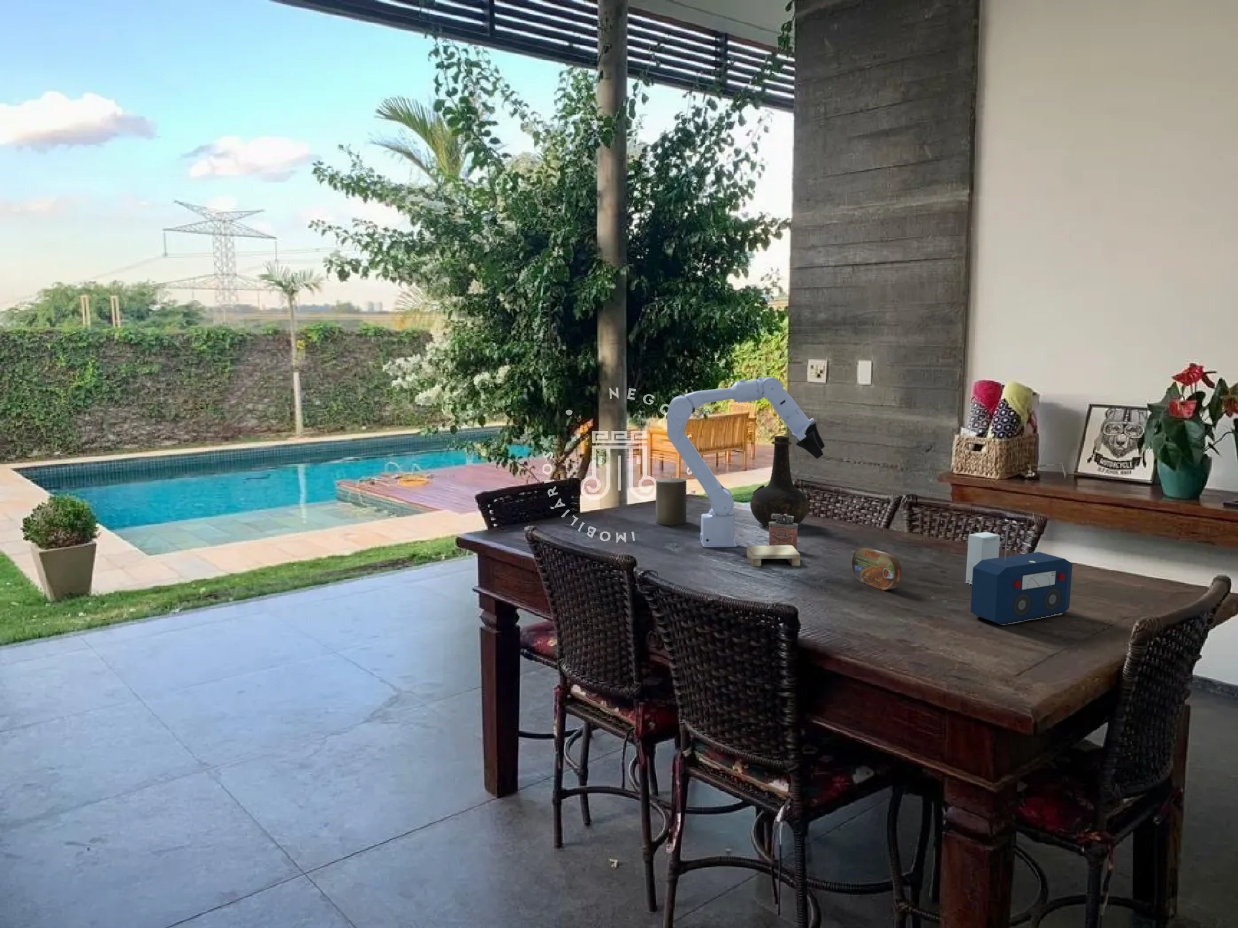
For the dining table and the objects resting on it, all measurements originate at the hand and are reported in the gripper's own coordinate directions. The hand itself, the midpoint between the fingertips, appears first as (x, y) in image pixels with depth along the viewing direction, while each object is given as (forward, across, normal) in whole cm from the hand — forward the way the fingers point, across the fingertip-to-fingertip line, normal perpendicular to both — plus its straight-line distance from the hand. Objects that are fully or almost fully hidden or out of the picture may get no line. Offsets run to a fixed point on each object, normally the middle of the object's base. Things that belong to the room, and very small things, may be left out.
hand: (821, 452), depth 242 cm
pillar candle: (-5, +15, +55) cm, 57 cm away
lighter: (+14, -12, +22) cm, 29 cm away
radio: (+41, -57, -24) cm, 74 cm away
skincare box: (+41, -33, -18) cm, 56 cm away
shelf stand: (+12, -24, +22) cm, 35 cm away
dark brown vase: (+16, +19, +29) cm, 38 cm away
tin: (+26, -41, 0) cm, 48 cm away
